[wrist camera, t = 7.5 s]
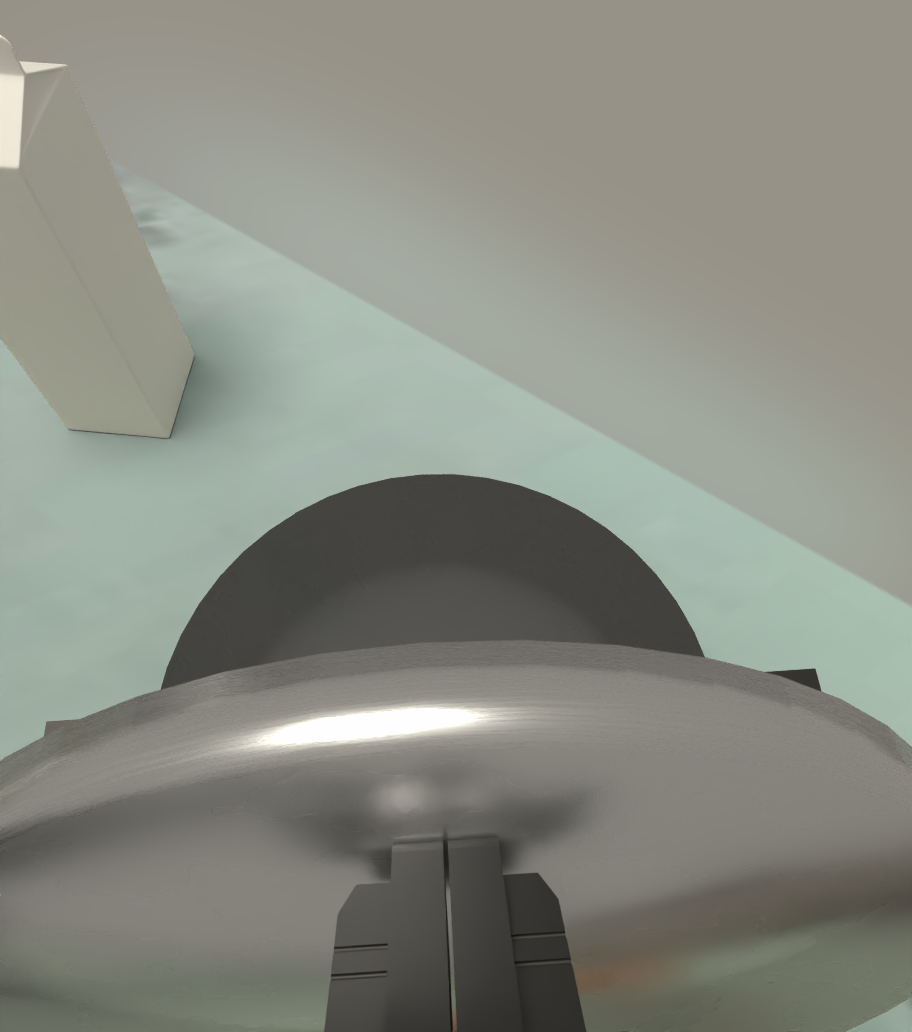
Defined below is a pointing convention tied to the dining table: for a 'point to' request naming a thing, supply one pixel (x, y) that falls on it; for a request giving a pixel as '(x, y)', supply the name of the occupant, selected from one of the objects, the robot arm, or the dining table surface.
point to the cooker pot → (430, 580)
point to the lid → (461, 837)
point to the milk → (79, 266)
